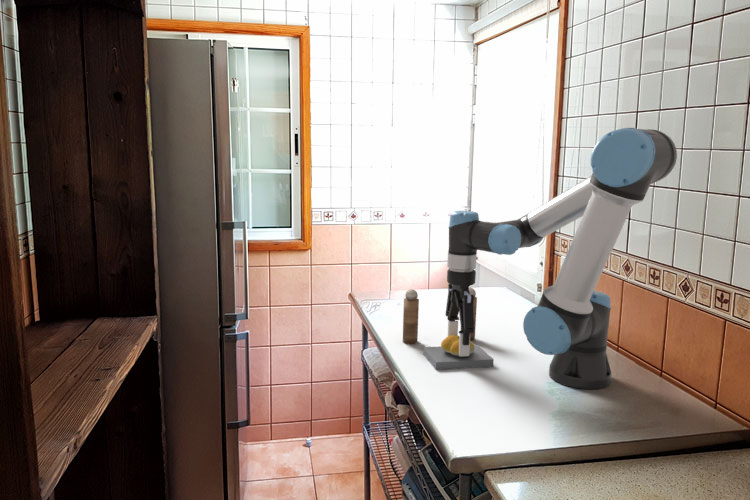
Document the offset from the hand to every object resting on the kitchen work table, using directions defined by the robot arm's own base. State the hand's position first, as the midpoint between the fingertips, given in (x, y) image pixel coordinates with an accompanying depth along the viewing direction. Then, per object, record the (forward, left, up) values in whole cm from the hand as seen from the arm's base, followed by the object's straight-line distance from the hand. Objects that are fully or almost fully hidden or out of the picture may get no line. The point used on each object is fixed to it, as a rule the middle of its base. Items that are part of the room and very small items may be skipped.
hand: (457, 349), depth 169 cm
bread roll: (0, 0, -1) cm, 1 cm away
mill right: (+17, -9, -3) cm, 19 cm away
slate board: (0, 0, -3) cm, 3 cm away
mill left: (+17, +9, -3) cm, 19 cm away
